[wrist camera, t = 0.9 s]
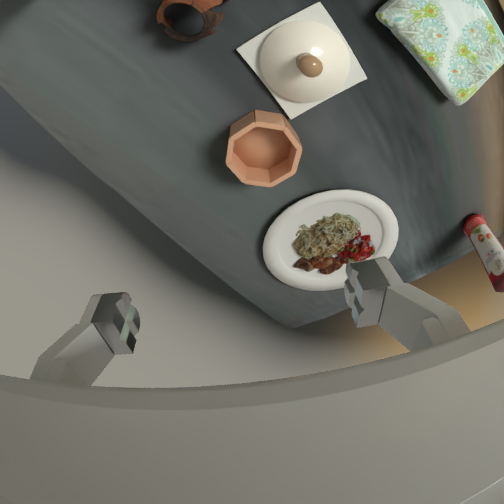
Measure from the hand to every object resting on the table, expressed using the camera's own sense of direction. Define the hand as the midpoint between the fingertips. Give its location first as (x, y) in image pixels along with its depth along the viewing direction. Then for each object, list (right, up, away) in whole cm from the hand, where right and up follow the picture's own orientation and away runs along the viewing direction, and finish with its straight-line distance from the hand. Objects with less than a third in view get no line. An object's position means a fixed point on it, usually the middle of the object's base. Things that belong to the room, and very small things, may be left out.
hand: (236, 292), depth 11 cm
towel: (+31, +37, +19) cm, 52 cm away
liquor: (+54, +9, +48) cm, 73 cm away
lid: (+8, +29, +25) cm, 39 cm away
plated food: (+18, +4, +53) cm, 56 cm away
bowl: (+2, +19, +36) cm, 41 cm away
